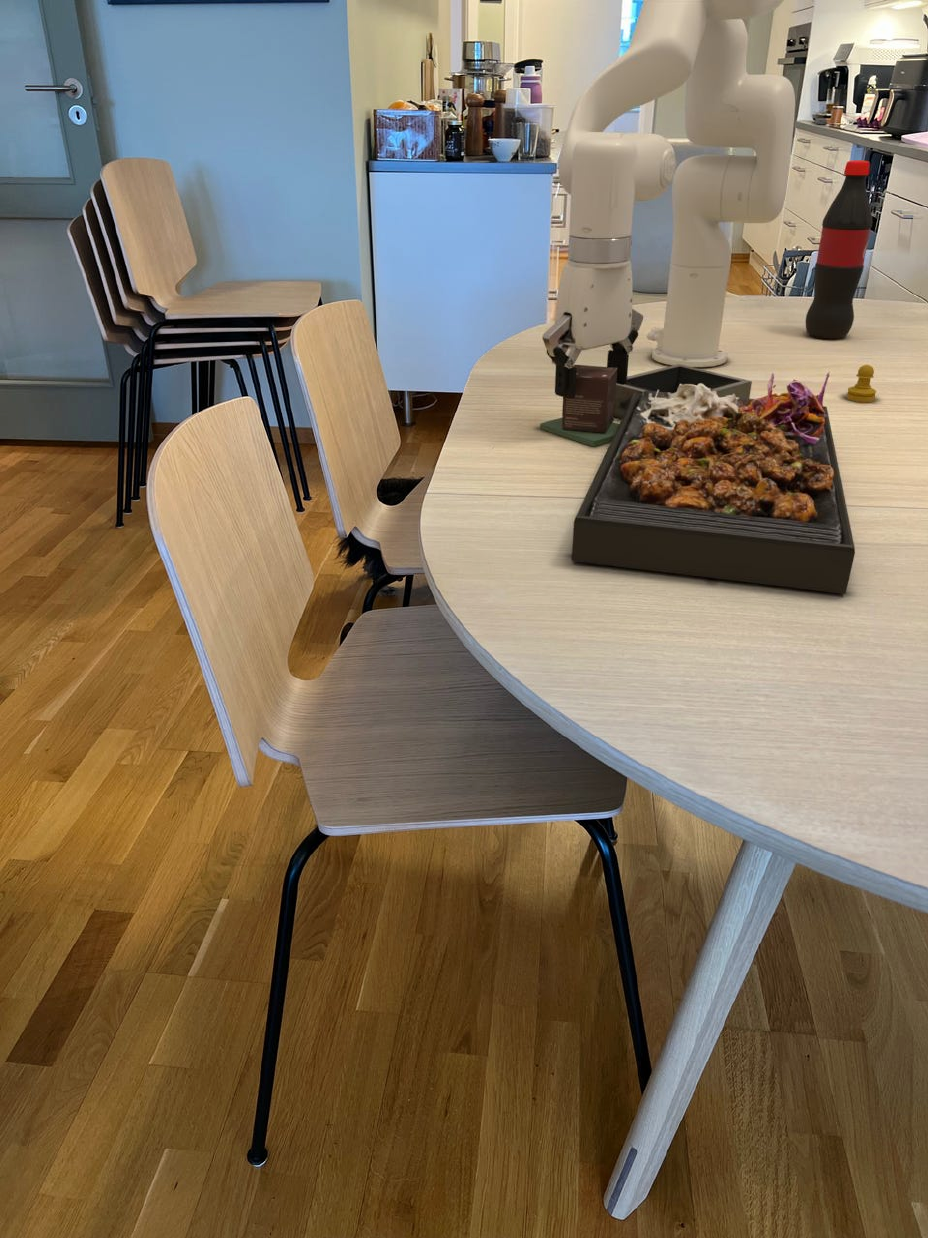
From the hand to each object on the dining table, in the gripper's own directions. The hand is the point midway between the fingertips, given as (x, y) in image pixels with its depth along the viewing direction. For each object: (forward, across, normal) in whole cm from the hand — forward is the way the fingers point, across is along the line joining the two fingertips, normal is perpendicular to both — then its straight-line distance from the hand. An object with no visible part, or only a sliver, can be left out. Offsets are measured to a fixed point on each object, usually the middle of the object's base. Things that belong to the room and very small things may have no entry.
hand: (591, 389), depth 121 cm
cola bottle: (+7, -77, -12) cm, 79 cm away
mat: (+6, 0, 0) cm, 6 cm away
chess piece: (+6, -42, +15) cm, 46 cm away
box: (+5, 0, 0) cm, 5 cm away
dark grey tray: (+6, -16, +2) cm, 17 cm away
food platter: (+5, +6, +25) cm, 27 cm away
